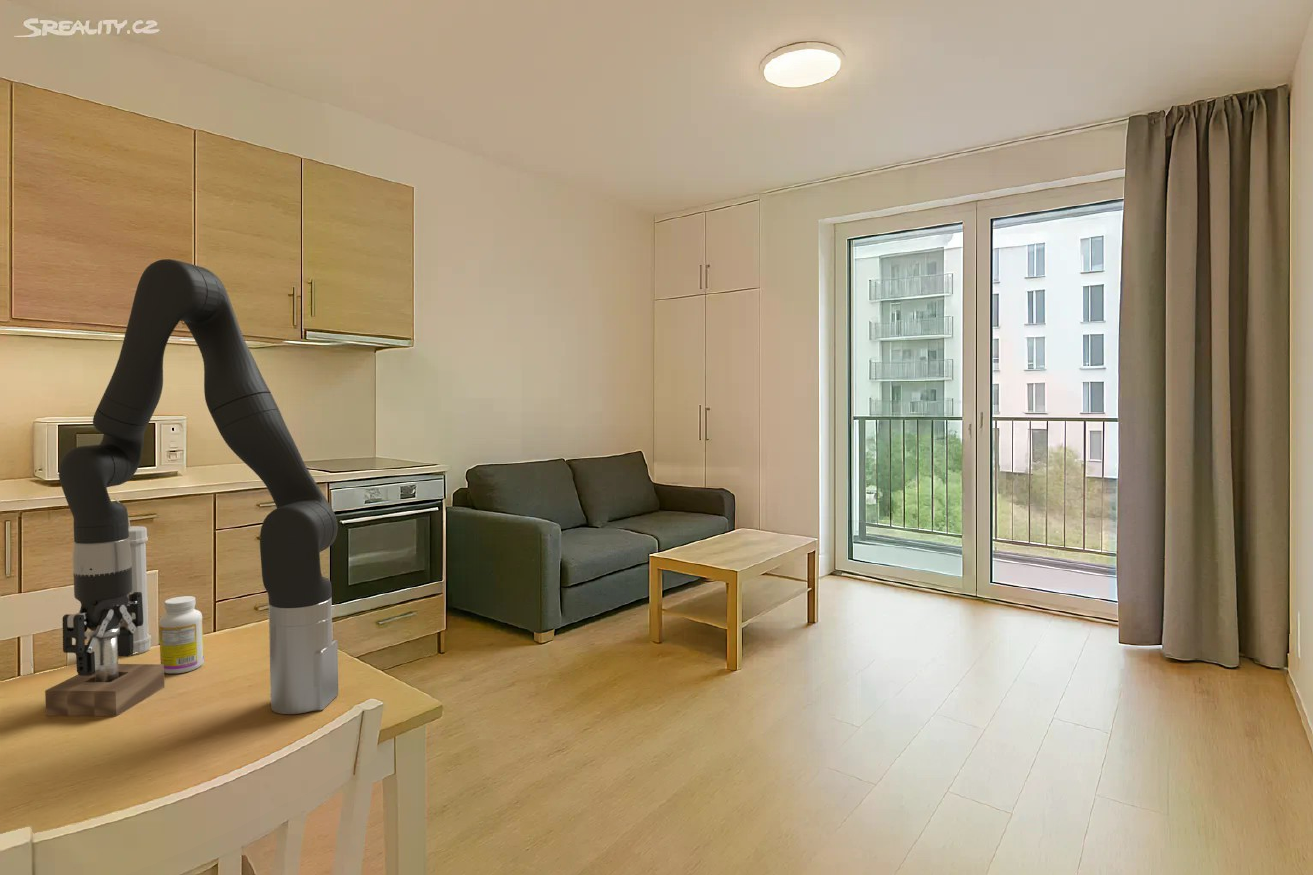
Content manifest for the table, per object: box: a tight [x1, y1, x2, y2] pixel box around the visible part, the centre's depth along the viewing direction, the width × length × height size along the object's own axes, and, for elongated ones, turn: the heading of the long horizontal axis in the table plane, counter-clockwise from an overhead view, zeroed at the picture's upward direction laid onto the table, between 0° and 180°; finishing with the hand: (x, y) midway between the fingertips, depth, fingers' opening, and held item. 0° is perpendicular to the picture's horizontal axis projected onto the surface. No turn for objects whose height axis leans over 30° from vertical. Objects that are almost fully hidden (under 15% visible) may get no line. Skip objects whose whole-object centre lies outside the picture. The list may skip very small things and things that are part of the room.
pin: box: [90, 626, 120, 682], centre depth 117 cm, size 4×4×12 cm
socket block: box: [44, 663, 165, 717], centre depth 117 cm, size 11×11×4 cm
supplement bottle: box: [158, 595, 205, 675], centre depth 131 cm, size 7×7×13 cm
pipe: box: [113, 498, 152, 656], centre depth 138 cm, size 6×6×30 cm
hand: (106, 664), depth 117 cm, fingers open, 8 cm apart
